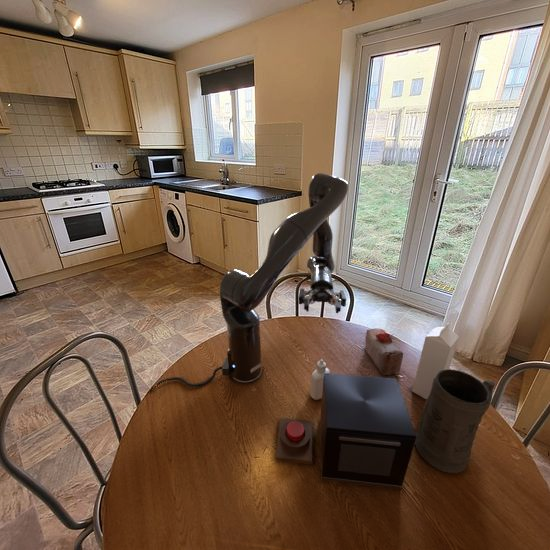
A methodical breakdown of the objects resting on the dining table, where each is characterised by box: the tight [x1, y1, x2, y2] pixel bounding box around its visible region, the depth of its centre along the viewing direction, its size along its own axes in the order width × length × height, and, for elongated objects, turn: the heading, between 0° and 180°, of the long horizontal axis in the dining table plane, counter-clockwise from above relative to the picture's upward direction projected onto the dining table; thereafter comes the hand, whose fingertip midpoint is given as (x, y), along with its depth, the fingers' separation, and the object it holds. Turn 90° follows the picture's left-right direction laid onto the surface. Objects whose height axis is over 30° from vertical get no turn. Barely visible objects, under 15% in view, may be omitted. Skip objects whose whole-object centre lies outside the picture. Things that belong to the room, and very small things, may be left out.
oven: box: [319, 373, 417, 490], centre depth 63 cm, size 16×14×16 cm
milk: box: [411, 321, 460, 401], centre depth 77 cm, size 6×6×22 cm
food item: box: [364, 328, 404, 376], centre depth 92 cm, size 14×8×10 cm, turn 9°
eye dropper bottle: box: [309, 358, 331, 401], centre depth 79 cm, size 4×6×12 cm
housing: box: [275, 417, 313, 465], centre depth 68 cm, size 8×10×3 cm
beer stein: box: [414, 369, 496, 474], centre depth 63 cm, size 15×11×20 cm
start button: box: [287, 421, 304, 442], centre depth 67 cm, size 4×4×2 cm
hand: (322, 309), depth 84 cm, fingers open, 8 cm apart
